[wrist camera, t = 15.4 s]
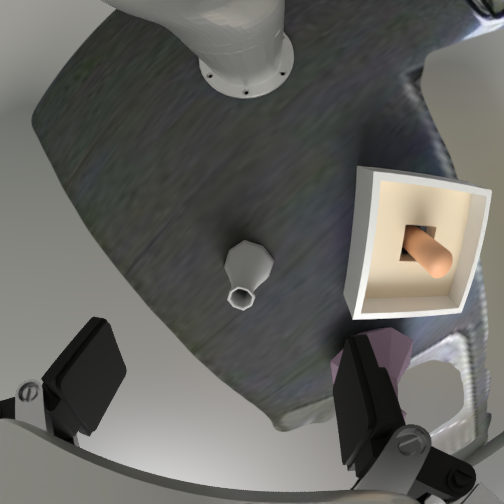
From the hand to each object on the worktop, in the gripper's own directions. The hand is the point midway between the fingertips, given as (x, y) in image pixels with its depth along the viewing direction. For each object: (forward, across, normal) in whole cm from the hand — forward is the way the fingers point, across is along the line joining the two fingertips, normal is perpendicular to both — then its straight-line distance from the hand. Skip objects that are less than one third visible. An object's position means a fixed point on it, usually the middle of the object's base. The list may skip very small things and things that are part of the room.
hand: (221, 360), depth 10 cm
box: (+30, -23, +5) cm, 38 cm away
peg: (+30, -23, +5) cm, 38 cm away
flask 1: (+31, +2, +10) cm, 32 cm away
